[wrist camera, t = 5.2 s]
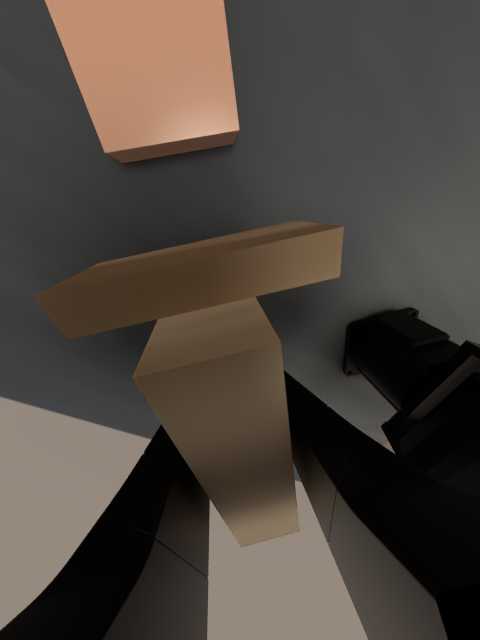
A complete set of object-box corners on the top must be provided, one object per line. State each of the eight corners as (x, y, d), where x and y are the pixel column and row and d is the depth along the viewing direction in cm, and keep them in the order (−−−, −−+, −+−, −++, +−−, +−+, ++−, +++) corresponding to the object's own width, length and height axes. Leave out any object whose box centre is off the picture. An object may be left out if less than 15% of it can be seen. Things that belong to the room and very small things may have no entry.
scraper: (301, 412, 13) (350, 517, 8) (194, 439, 12) (188, 561, 8) (293, 220, 7) (429, 237, 3) (98, 263, 7) (-86, 355, 3)
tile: (232, 145, 11) (239, 129, 9) (125, 164, 11) (105, 152, 9) (206, -43, 8) (206, -135, 6) (56, -25, 8) (-1, -115, 6)
